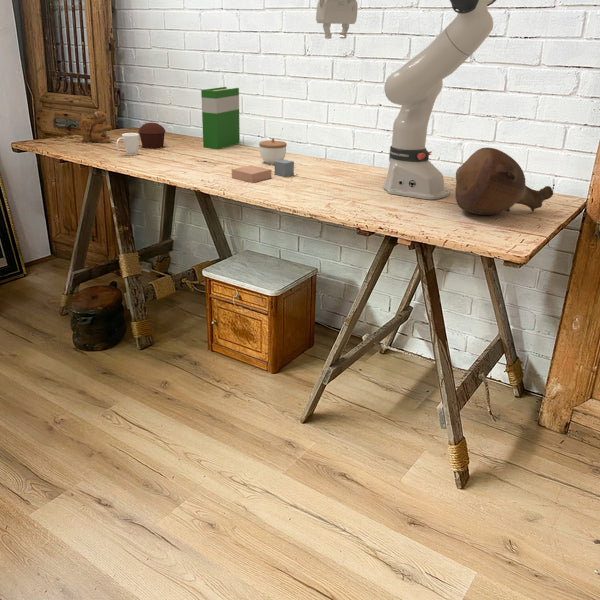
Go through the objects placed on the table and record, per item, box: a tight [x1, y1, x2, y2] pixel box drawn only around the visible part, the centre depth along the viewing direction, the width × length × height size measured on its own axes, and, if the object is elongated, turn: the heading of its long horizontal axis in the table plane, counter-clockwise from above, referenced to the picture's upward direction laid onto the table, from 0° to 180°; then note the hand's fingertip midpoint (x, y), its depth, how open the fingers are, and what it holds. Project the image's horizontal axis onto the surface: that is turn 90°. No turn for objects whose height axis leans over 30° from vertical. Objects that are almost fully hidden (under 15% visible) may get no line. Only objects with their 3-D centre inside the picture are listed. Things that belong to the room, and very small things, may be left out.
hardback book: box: [200, 86, 241, 150], centre depth 272 cm, size 18×7×24 cm, turn 152°
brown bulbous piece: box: [455, 147, 554, 216], centre depth 184 cm, size 20×20×30 cm
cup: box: [115, 132, 140, 156], centre depth 252 cm, size 7×10×8 cm
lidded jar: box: [258, 137, 287, 165], centre depth 245 cm, size 11×11×9 cm
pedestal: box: [231, 165, 272, 184], centre depth 221 cm, size 10×10×3 cm
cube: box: [274, 158, 295, 178], centre depth 227 cm, size 5×5×5 cm
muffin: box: [137, 122, 167, 150], centre depth 268 cm, size 12×11×10 cm
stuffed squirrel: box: [78, 110, 112, 144], centre depth 276 cm, size 10×14×13 cm
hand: (335, 38), depth 211 cm, fingers open, 8 cm apart
